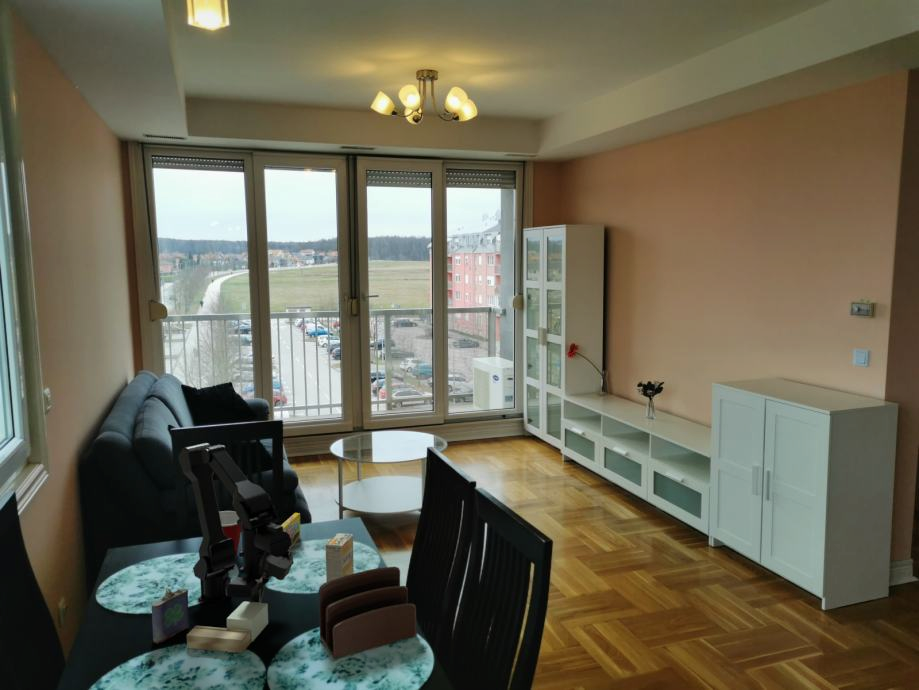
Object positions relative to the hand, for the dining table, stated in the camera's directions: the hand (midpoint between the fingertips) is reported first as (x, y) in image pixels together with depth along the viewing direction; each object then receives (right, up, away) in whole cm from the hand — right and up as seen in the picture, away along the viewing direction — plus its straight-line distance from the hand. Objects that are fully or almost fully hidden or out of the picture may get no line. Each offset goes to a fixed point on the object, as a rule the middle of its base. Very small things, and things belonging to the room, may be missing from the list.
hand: (257, 607), depth 162 cm
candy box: (-3, +1, +41) cm, 41 cm away
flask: (-18, -4, -6) cm, 19 cm away
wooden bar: (-5, -4, -11) cm, 13 cm away
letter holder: (+27, -4, -7) cm, 29 cm away
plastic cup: (-19, +1, +36) cm, 41 cm away
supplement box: (+17, -1, +17) cm, 24 cm away
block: (-1, -4, -5) cm, 6 cm away
